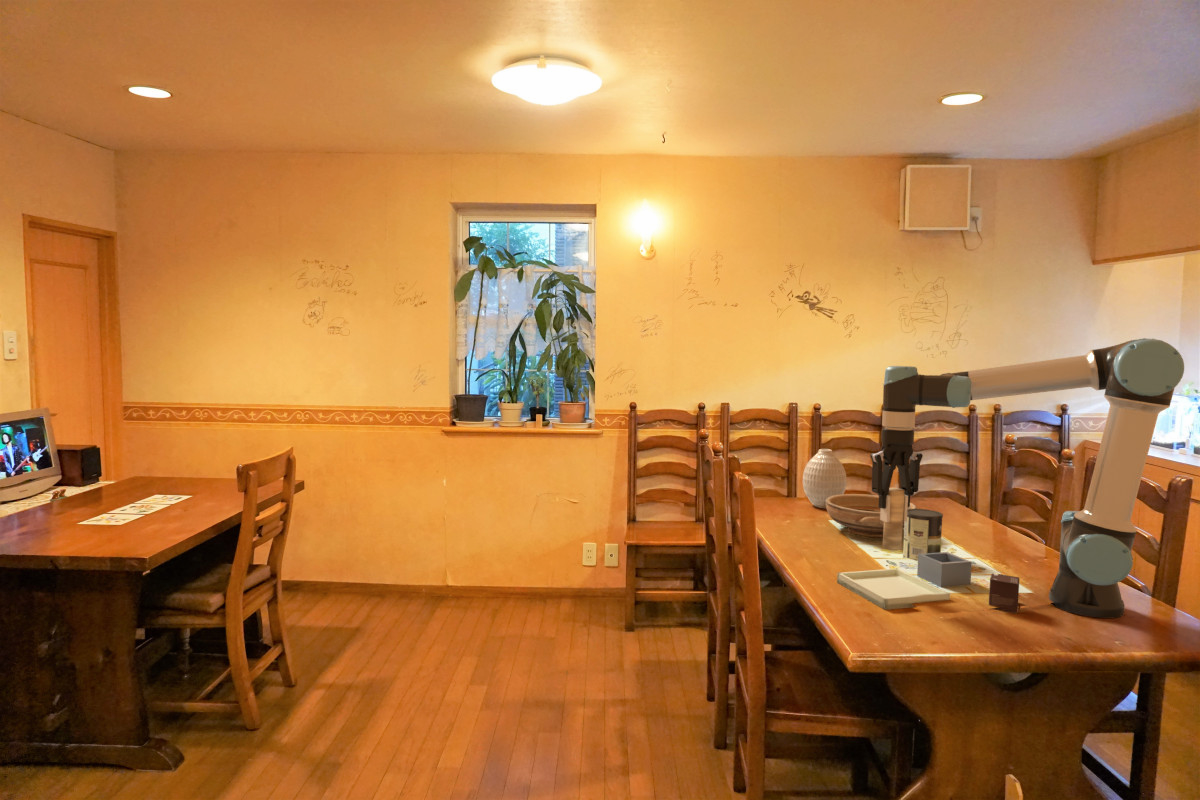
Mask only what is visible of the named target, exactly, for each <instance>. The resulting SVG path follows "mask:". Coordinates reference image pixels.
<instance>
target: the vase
mask: <svg viewBox="0 0 1200 800" xmlns="http://www.w3.org/2000/svg"><path fill="white" fill-rule="evenodd" d="M802 487H803V490H804V494H805V496H806V497H807V498H808V500H809V502H810V503H811V504H812V505H813V506H814V507H815V508H819V509H827V508H826V499H827V498H828V497H831V496H835V495H843V494H845V492H846V487H847V472H846V470H845V467H844V465H843V463H842V462H841V460H839V458H838V457H837V456H836V455H835V454H834V453H833V450H832V449H829V448H820V449H818V451H817V452H816V453H815V455H813V456H812V457H811V458H810V459H809V461H807V463H806V465H805V467H804V470H803V474H802Z"/></svg>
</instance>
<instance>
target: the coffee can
mask: <svg viewBox="0 0 1200 800" xmlns="http://www.w3.org/2000/svg"><path fill="white" fill-rule="evenodd" d="M943 518H944V515H943V513H942V512H940V511H938V510H937V511H936V510H931V509H926V508H924V509H923V508H917V509H907V521H904V528H903V549H902V550H903V552H902V558H905V559H906V558H907V559H909V560H913V561H917V562H918V554H925V553H940V552H942V531H943Z"/></svg>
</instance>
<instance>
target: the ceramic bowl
mask: <svg viewBox="0 0 1200 800" xmlns="http://www.w3.org/2000/svg"><path fill="white" fill-rule="evenodd" d="M878 504H879V495H878V494H867V493H866V494H864V493H861V494H860V493H859V494H857V493H849V494H848V493H846V494H845V493H844V494H843V495H835V496H831V497H828V498H827V499H826V508H825V509H826V511H827V513H828V516H830V518H831V520H833V521H834V522H836V523H838V524H839V525H841V526H843V527H846V528H847V530H848V531H849V532H850V533H852V534H855V535H857V536H862V537H870V538H871V537H872V538H874V537H875V538H883V529H884V521H882V520H880V511H881V508H879V506H878ZM908 509H918V508H917V506H916V505H915V504H914V503H913V502H910V506H909V507H908ZM902 530H904V521H903V528H902Z"/></svg>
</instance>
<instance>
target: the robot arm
mask: <svg viewBox="0 0 1200 800" xmlns="http://www.w3.org/2000/svg"><path fill="white" fill-rule="evenodd" d="M1184 373H1185V363H1184V359H1183V357H1182V354H1181V353H1180V352H1179V350H1177V349H1176V348H1175V347H1174V346H1172V345H1171V344H1170V343H1168V342H1167V341H1164V340H1160V339H1156V338H1145V337H1144V338H1138V339H1133V340H1132V339H1131V340H1128V341H1125V342H1122V343H1119V344H1115V345H1111V346H1107V347H1101V348H1097V349H1090V350H1089V351H1088V352H1087V353H1086V354H1085V355H1076V356H1068V357H1060V358H1055V359H1054V358H1053V359H1046V360H1039V361H1033V362H1032V361H1031V362H1024V363H1017V364H1009V365H1002V366H1001V365H1000V366H995V367H994V366H993V367H988V368H987V367H986V368H981V369H974V370H973V369H972V370H968V371H958V372H946V373H941V374H939V375H938V374H937V375H935V374H933V375H932V374H929V375H927V374H919V372H918V368H917V366H906V365H905V366H904V365H890V366H888V367H887V366H886V368H885V371H884V379H883V380H884V381H883V383H882V384H883V387H882V388H883V390H882V391H883V392H882V393H883V394H882V395H883V396H882V418H881V419H882V421H881V422H882V423H881V425H882V426H883V428H882V429H881V437H880V438H881V439H880V440H881V447H880V451H878V452H876V453H873V452H872V453H871V454H870V459H871V462H872V463H871V464H872V465H871V492H872V493H876V495H878V496H879V504H878V506H879V508H881V511H880V520H882V521H884V522H889V521H890V501H891V496H888V492H889V488H891V484H892V480H893V474H894V471H895V470H896V468H897V469H898V476H899V477H898V478H899V483H900V489H903V490H905V492H904V510H903V521H907V509H908V507H909V506H910V503H911V497H912V496H914V495H915V493H918V492H919V483H920V471H921V470H920V469H921V461H922V459H923V456H924V455H923V453H920V452H916V451H914V449H913V444H914V441H915V430H914V428H915V426H916V408H917V407H916V406H927V407H928V406H929V407H942V408H943V407H945V408H946V407H947V408H952V409H955V408H956V409H957V408H968V407H969V406H970V404H971V401H978V400H987V399H994V398H996V399H997V398H1005V397H1012V396H1013V397H1014V396H1020V395H1021V396H1022V395H1030V394H1038V393H1040V394H1041V393H1047V392H1057V391H1065V390H1075V389H1082V388H1092V389H1094V390H1096V391H1102V390H1105V391H1104V395H1103V396H1104V398H1105V399H1106V400H1107V402H1108V403H1109V409H1108V413H1107V417H1106V421H1105V425H1104V428H1103V429H1104V430H1103V432H1102V436H1101V440H1100V445H1099V448H1098V452H1097V456H1096V461H1095V463H1094V468H1093V472H1092V477H1091V480H1090V485H1089V487H1088V491H1087V496H1086V500H1085V504H1084V508H1083V509H1082V510H1080V511H1079V510H1066V511H1064V512H1063V514H1062V517H1061V520H1060V525H1061V530H1060V531H1061V532H1060V546H1059V547H1060V548H1059V549H1060V550H1059V563H1058V572H1057V574H1056V576H1055V578H1054V580H1053V582H1052V586H1051V587H1050V588H1049V591H1048V599H1049V600H1050V601H1051V602H1050V605H1052V606H1053V607H1055V608H1057V609H1060V610H1062V611H1065V612H1067V613H1072V614H1076V615H1080V616H1085V617H1089V618H1090V617H1091V618H1099V619H1101V618H1102V619H1115V618H1116V619H1117V618H1120V617H1122V616H1124V613H1125V603H1124V600H1123V599H1122V595H1121V590H1120V586H1119V583H1120V582H1121V581H1123V580H1124V579H1126V578H1127V577H1128V576H1129V574H1130V573H1131V571H1132V568H1133V565H1134V563H1133V560H1134V557H1133V554H1132V550H1133V547H1134V546H1133V545H1134V543H1135V542H1134V541H1135V538H1136V535H1137V531H1138V530H1137V528H1136V526H1135V525H1134V523H1133V522H1132V520H1131V519H1132V517H1133V516H1132V515H1133V512H1134V508H1135V503H1136V501H1137V496H1138V493H1139V489H1140V485H1141V481H1142V478H1143V477H1142V476H1143V473H1144V470H1145V468H1146V467H1145V466H1146V462H1147V459H1148V454H1149V451H1150V448H1151V443H1152V440H1153V436H1154V431H1155V427H1156V425H1157V420H1158V417H1159V414H1160V413H1161V412H1163V411H1165V410H1166V409H1169V408H1170V405H1171V403H1172V399H1173V397H1174V396H1173V395H1174V391H1175V388H1177V386H1178V385H1179V383H1180V382H1181V380H1182V378H1183V376H1184Z"/></svg>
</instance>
